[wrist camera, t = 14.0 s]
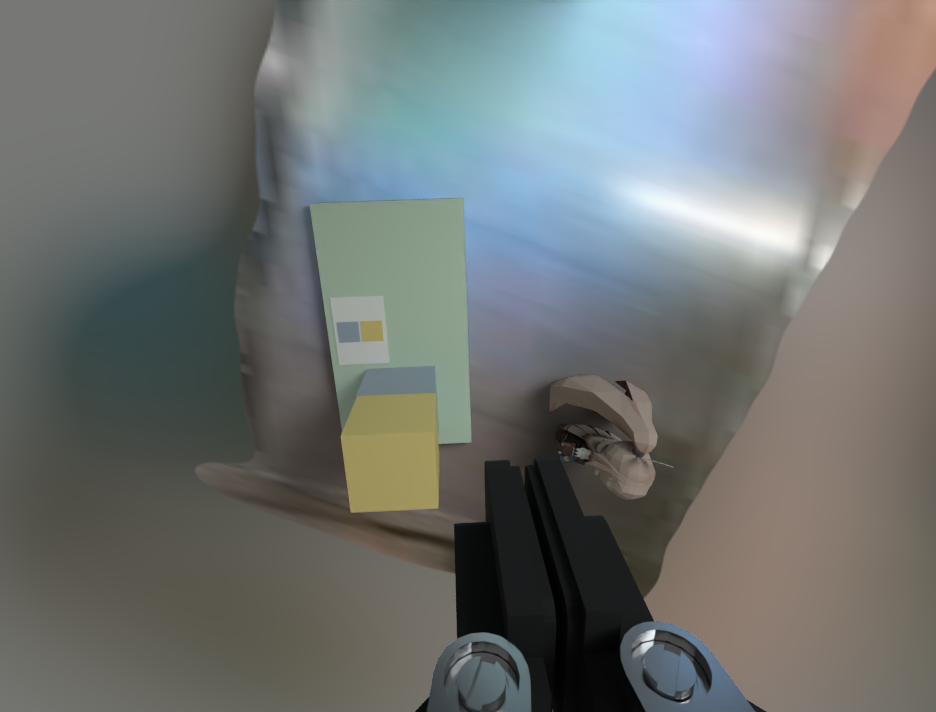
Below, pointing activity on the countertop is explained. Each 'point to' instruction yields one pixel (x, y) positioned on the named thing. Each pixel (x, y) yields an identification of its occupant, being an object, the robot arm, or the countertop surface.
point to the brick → (392, 453)
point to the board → (397, 297)
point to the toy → (615, 459)
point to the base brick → (399, 381)
